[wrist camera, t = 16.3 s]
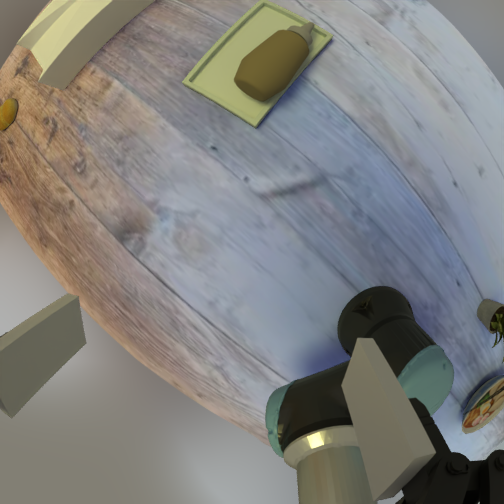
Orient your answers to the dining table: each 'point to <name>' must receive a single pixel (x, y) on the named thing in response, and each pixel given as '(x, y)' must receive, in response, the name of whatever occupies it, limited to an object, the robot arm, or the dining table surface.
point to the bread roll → (8, 113)
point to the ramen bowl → (484, 405)
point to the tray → (236, 48)
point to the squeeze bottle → (274, 62)
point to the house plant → (492, 317)
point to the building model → (75, 34)
